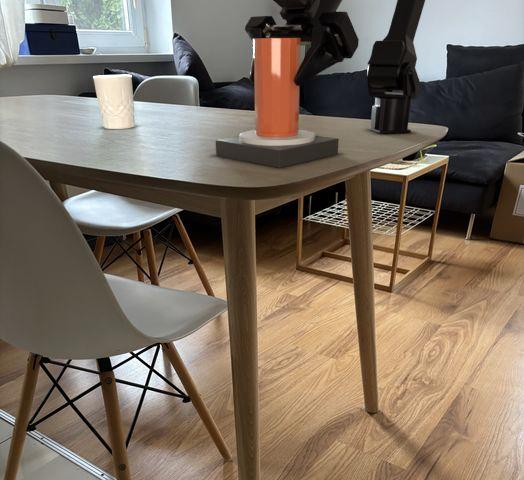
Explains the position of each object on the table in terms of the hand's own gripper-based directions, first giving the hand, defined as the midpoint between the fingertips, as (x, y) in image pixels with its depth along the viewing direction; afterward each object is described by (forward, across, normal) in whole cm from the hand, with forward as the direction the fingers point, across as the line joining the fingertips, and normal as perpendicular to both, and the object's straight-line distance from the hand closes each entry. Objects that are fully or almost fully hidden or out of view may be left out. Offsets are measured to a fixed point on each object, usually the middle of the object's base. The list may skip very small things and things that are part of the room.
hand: (272, 82), depth 77 cm
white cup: (+6, -49, +9) cm, 50 cm away
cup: (+4, 0, +6) cm, 7 cm away
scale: (+7, 0, +8) cm, 11 cm away
